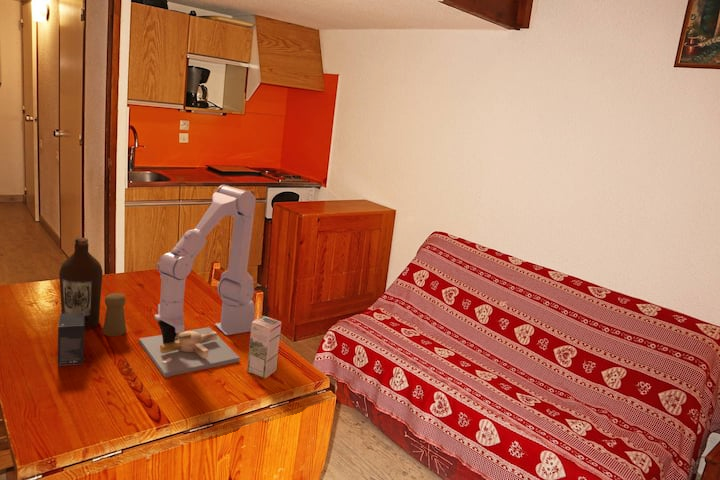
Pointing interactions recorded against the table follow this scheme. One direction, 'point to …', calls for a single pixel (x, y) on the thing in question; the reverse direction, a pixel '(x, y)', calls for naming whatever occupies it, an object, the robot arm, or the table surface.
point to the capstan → (190, 343)
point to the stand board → (188, 355)
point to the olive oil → (81, 284)
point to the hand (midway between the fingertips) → (168, 346)
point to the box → (71, 339)
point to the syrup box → (264, 346)
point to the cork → (114, 315)
